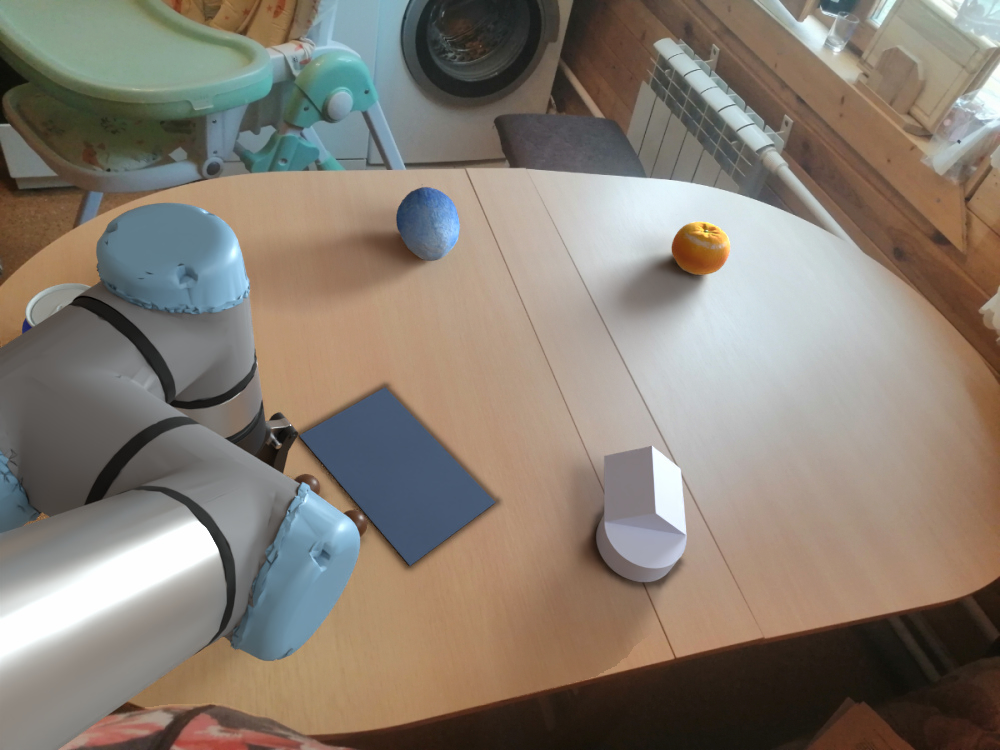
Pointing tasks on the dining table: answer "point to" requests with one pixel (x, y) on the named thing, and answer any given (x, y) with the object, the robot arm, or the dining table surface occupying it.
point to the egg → (428, 223)
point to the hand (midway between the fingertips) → (241, 554)
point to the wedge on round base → (642, 514)
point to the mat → (397, 474)
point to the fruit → (700, 248)
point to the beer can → (50, 302)
